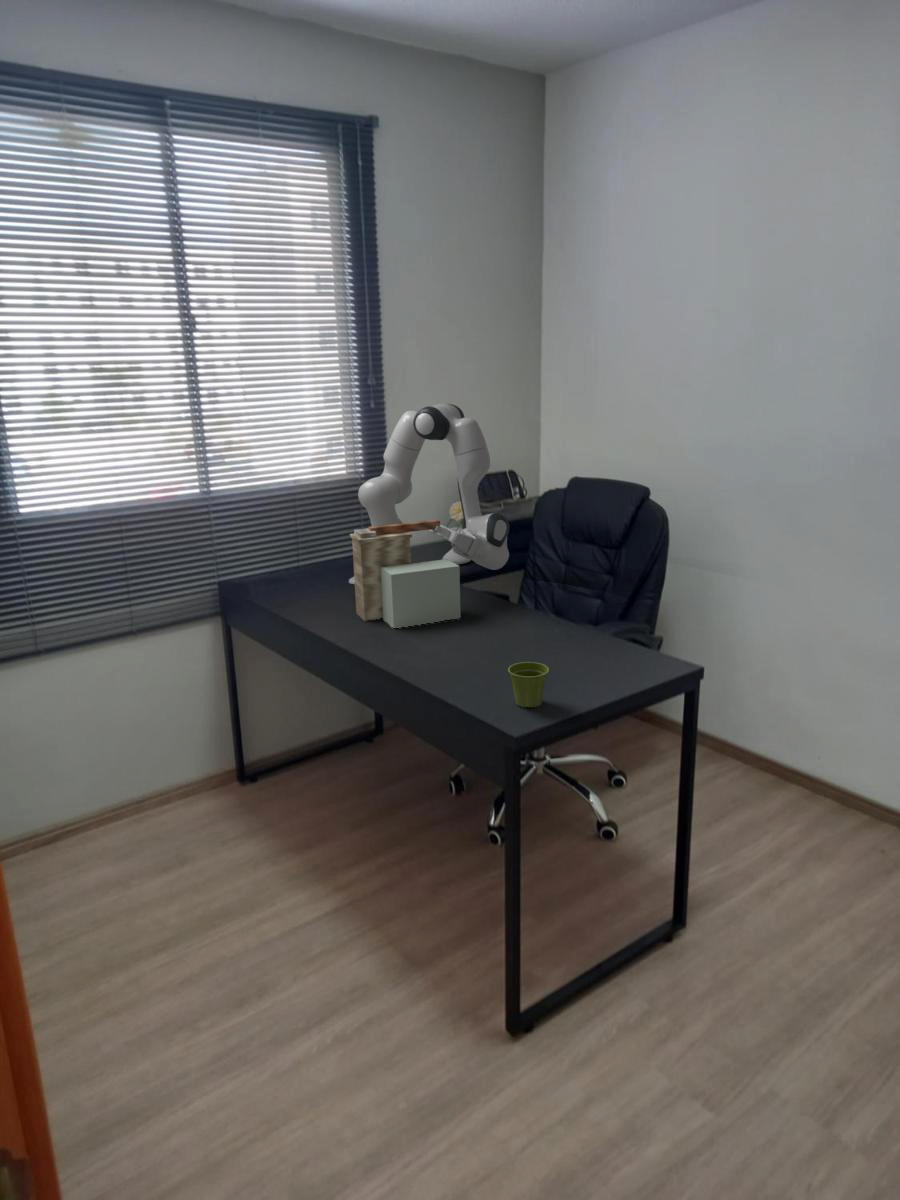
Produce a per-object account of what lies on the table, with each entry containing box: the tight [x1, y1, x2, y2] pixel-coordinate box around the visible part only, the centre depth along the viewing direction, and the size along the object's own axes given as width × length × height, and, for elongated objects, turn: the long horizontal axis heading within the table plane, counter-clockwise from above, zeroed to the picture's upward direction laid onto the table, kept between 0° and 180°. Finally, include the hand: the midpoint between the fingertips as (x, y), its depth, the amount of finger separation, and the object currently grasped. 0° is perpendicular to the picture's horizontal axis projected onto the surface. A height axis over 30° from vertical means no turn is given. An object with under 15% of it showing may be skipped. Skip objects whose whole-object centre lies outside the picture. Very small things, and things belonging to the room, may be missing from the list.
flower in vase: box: [441, 500, 472, 565], centre depth 324 cm, size 13×11×25 cm
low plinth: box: [381, 559, 462, 629], centre depth 257 cm, size 22×10×17 cm, turn 113°
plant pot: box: [507, 661, 550, 708], centre depth 195 cm, size 9×9×9 cm
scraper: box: [353, 519, 441, 539], centre depth 261 cm, size 27×7×2 cm, turn 113°
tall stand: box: [349, 532, 413, 622], centre depth 263 cm, size 17×10×26 cm, turn 113°
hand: (429, 525), depth 265 cm, fingers open, 8 cm apart
